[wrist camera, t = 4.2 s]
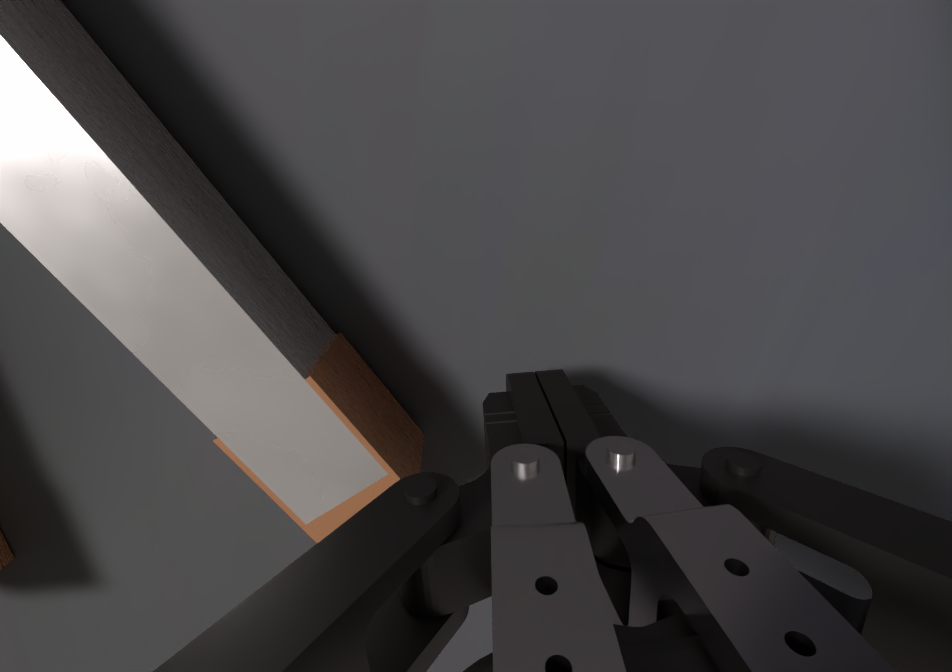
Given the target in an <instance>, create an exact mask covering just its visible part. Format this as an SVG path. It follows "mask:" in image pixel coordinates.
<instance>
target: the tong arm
mask: <svg viewBox="0 0 952 672" xmlns="http://www.w3.org/2000/svg"><path fill="white" fill-rule="evenodd" d="M0 223H1V224H2V225H3V226H4V227H5V228H6V229H7V230H8V231H9V232H10V233H11V234H12V235H14V236H15V237H16V238H17V239H18V240H19V241H20V242H21V243H22V244H23V245H24V246H25V247H26V248H27V249H28V250H29V251H30V252H31V253H32V254H33V255H34V256H35V257H36V258H37V259H38V260H39V261H40V262H41V263H42V264H43V265H44V266H45V267H46V268H47V269H48V270H49V271H50V272H51V273H52V274H53V275H54V276H55V277H56V278H57V279H58V280H59V281H60V282H61V283H62V284H63V285H64V286H65V287H66V288H67V289H68V290H69V291H70V292H71V293H72V294H73V295H74V296H75V297H76V298H77V299H78V300H79V301H80V302H81V303H82V304H83V305H84V306H85V307H86V308H87V309H88V310H89V311H90V312H91V313H92V314H93V315H94V316H95V317H96V318H97V319H98V320H99V321H101V322H102V323H103V324H104V325H105V326H106V327H107V328H108V329H109V330H110V331H111V332H112V333H113V334H114V335H115V336H116V337H117V338H118V339H119V340H120V341H121V342H122V343H123V344H124V345H125V346H126V347H127V348H128V349H129V350H130V351H131V352H132V353H133V354H134V355H135V356H136V357H137V358H138V359H139V360H140V361H141V362H142V363H143V364H144V365H145V366H146V367H147V368H148V369H149V370H150V371H151V372H152V373H153V374H154V375H155V376H156V377H157V378H158V379H159V380H160V381H161V382H162V383H163V384H164V385H165V386H166V387H167V388H168V389H169V390H170V391H171V392H172V393H173V394H174V395H175V396H176V397H177V398H178V399H179V400H180V401H181V402H182V403H183V404H184V405H185V406H186V407H187V408H189V409H190V410H191V411H192V412H193V413H194V414H195V415H196V416H197V417H198V418H199V419H200V420H201V421H202V422H203V423H204V424H205V425H206V426H207V427H208V428H209V429H210V430H211V431H212V432H213V433H214V434H215V435H216V436H217V437H216V438H215V439H214V440H213V442H214V443H216V444H217V445H218V446H219V447H220V448H221V449H222V450H223V451H224V452H225V453H226V454H227V455H228V456H229V457H230V458H231V459H232V460H233V461H234V462H235V463H236V464H237V465H238V466H239V467H240V468H241V469H242V470H243V471H244V472H245V473H246V474H247V475H248V476H249V477H250V478H251V479H252V480H253V481H254V482H255V483H256V484H257V485H258V486H259V487H260V488H261V489H262V490H263V491H264V492H265V493H266V494H267V495H269V496H270V497H271V498H272V499H273V500H274V501H275V502H276V503H277V504H278V505H279V506H280V507H281V508H282V509H283V510H284V511H285V512H286V513H287V514H288V515H289V516H290V517H291V518H292V519H293V520H294V521H295V522H296V523H297V524H298V525H299V526H300V527H301V528H302V529H303V530H304V531H305V532H306V533H307V534H308V535H309V536H310V537H311V538H312V539H313V540H314V541H315V542H316V543H319V542H320V541H321V540H322V539H324V538H325V537H326V536H328V535H329V534H330V533H331V532H333V531H334V530H335V529H337V528H338V527H339V526H340V525H342V524H343V523H344V522H346V521H347V520H348V519H349V518H351V517H352V516H353V515H354V514H356V513H357V512H358V511H360V510H361V509H362V508H363V507H365V506H366V505H367V504H369V503H370V502H371V501H372V500H374V499H375V498H376V497H378V496H379V495H380V494H381V493H383V492H384V491H385V490H387V489H388V488H389V487H390V486H392V485H393V484H394V483H396V482H397V481H399V480H400V479H402V478H404V477H407V476H409V475H413V474H416V473H421V464H422V453H423V442H424V433H423V432H422V431H421V430H420V428H419V427H418V426H417V425H416V424H415V422H414V421H413V420H412V419H411V417H410V416H409V415H408V414H407V413H406V411H405V410H404V409H403V408H402V406H401V405H400V404H399V403H398V402H397V400H396V399H395V398H394V397H393V395H392V394H391V393H390V392H389V391H388V389H387V388H386V387H385V386H384V384H383V383H382V382H381V381H380V380H379V378H378V377H377V376H376V375H375V374H374V372H373V371H372V370H371V369H370V367H369V366H368V365H367V364H366V363H365V361H364V360H363V359H362V358H361V356H360V355H359V354H358V353H357V352H356V350H355V349H354V348H353V347H352V345H351V344H350V343H349V342H348V341H347V339H346V338H345V337H344V336H343V334H342V333H341V332H339V333H338V334H335V333H334V332H333V330H332V329H331V328H330V327H329V325H328V324H327V323H326V322H325V321H324V319H323V318H322V317H321V316H320V315H319V313H318V312H317V311H316V310H315V309H314V307H313V306H312V305H311V304H310V302H309V301H308V300H307V299H306V298H305V296H304V295H303V294H302V293H301V292H300V290H299V289H298V288H297V287H296V285H295V284H294V283H293V282H292V281H291V279H290V278H289V277H288V276H287V275H286V273H285V272H284V271H283V270H282V268H281V267H280V266H279V265H278V264H277V262H276V261H275V260H274V259H273V258H272V256H271V255H270V254H269V253H268V252H267V250H266V249H265V248H264V247H263V245H262V244H261V243H260V242H259V241H258V239H257V238H256V237H255V236H254V235H253V233H252V232H251V231H250V230H249V228H248V227H247V226H246V225H245V224H244V222H243V221H242V220H241V219H240V218H239V216H238V215H237V214H236V213H235V211H234V210H233V209H232V208H231V207H230V205H229V204H228V203H227V202H226V201H225V199H224V198H223V197H222V196H221V195H220V193H219V192H218V191H217V190H216V188H215V187H214V186H213V185H212V184H211V182H210V181H209V180H208V179H207V178H206V176H205V175H204V174H203V173H202V171H201V170H200V169H199V168H198V167H197V165H196V164H195V163H194V162H193V161H192V159H191V158H190V157H189V156H188V154H187V153H186V152H185V151H184V150H183V148H182V147H181V146H180V145H179V144H178V142H177V141H176V140H175V139H174V137H173V136H172V135H171V134H170V133H169V131H168V130H167V129H166V128H165V127H164V125H163V124H162V123H161V122H160V121H159V119H158V118H157V117H156V116H155V114H154V113H153V112H152V111H151V110H150V108H149V107H148V106H147V105H146V104H145V102H144V101H143V100H142V99H141V97H140V96H139V95H138V94H137V93H136V91H135V90H134V89H133V88H132V87H131V85H130V84H129V83H128V82H127V80H126V79H125V78H124V77H123V76H122V74H121V73H120V72H119V71H118V70H117V68H116V67H115V66H114V65H113V64H112V62H111V61H110V60H109V59H108V57H107V56H106V55H105V54H104V53H103V51H102V50H101V49H100V48H99V47H98V45H97V44H96V43H95V42H94V40H93V39H92V38H91V37H90V36H89V34H88V33H87V32H86V31H85V30H84V28H83V27H82V26H81V25H80V23H79V22H78V21H77V20H76V19H75V17H74V16H73V15H72V14H71V13H70V11H69V10H68V9H67V8H66V7H65V5H64V4H63V3H62V2H61V0H0Z"/></svg>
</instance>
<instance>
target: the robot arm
mask: <svg viewBox="0 0 952 672" xmlns="http://www.w3.org/2000/svg"><path fill="white" fill-rule="evenodd" d="M483 414H484V430H485V445H486V456H487V464H488V470H487V471H486V472H485V473H484V474H483V475H482V476H481V477H479V478H478V479H476V480H474V481H472V482H470V483H467V484H464V485H461V486H457V484H456V483H455V481H454V480H453V479H451V478H450V477H448V476H446V475H443V474H440V473H434V472H423V473H416V474H413V475H409V476H407V477H404V478H402V479H400V480H399V481H397V482H396V483H394V484H393V485H392V486H390V487H389V488H388V489H387V490H385V491H384V492H383V493H381V494H380V495H379V496H378V497H376V498H375V499H374V500H372V501H371V502H370V503H369V504H367V505H366V506H365V507H363V508H362V509H361V510H360V511H358V512H357V513H356V514H354V515H353V516H352V517H351V518H349V519H348V520H347V521H346V522H344V523H343V524H342V525H340V526H339V527H338V528H337V529H335V530H334V531H333V532H331V533H330V534H329V535H328V536H326V537H325V538H324V539H322V540H321V541H320V542H319V543H317V544H316V545H315V546H313V547H312V548H311V549H310V550H308V551H307V552H306V553H304V554H303V555H302V556H301V557H299V558H298V559H297V560H295V561H294V562H293V563H292V564H290V565H289V566H288V567H287V568H285V569H284V570H283V571H281V572H280V573H279V574H278V575H276V576H275V577H274V578H272V579H271V580H270V581H269V582H267V583H266V584H265V585H263V586H262V587H261V588H260V589H258V590H257V591H256V592H254V593H253V594H252V595H251V596H249V597H248V598H247V599H245V600H244V601H243V602H242V603H240V604H239V605H238V606H237V607H235V608H234V609H233V610H231V611H230V612H229V613H228V614H226V615H225V616H224V617H222V618H221V619H220V620H219V621H217V622H216V623H215V624H213V625H212V626H211V627H210V628H208V629H207V630H206V631H204V632H203V633H202V634H201V635H199V636H198V637H197V638H195V639H194V640H193V641H192V642H190V643H189V644H188V645H186V646H185V647H184V648H183V649H181V650H180V651H179V652H178V653H176V654H175V655H174V656H172V657H171V658H170V659H169V660H167V661H166V662H165V663H163V664H162V665H161V666H160V667H158V668H157V669H156V670H154V671H153V672H426V671H427V670H428V668H429V667H430V666H431V664H432V663H433V662H434V661H435V659H436V658H437V657H438V655H439V654H440V653H441V651H442V650H443V649H444V647H445V646H446V645H447V643H448V642H449V641H450V639H451V638H452V637H453V636H454V634H455V633H456V632H457V630H458V629H459V628H460V626H461V625H462V624H463V622H464V621H465V619H466V617H467V614H468V611H469V605H471V604H474V603H476V602H478V601H481V600H483V599H486V598H488V597H490V596H492V636H493V652H492V653H490V654H489V655H487V656H485V657H483V658H481V659H479V660H478V661H477V662H475V663H474V664H472V665H471V666H470V667H468V668H467V669H466V670H464V671H463V672H952V522H950V521H947V520H944V519H941V518H939V517H936V516H933V515H930V514H928V513H925V512H922V511H919V510H916V509H914V508H911V507H908V506H905V505H902V504H900V503H897V502H894V501H891V500H888V499H886V498H883V497H880V496H877V495H874V494H872V493H869V492H866V491H863V490H861V489H858V488H855V487H852V486H849V485H847V484H844V483H841V482H838V481H835V480H833V479H830V478H827V477H824V476H821V475H819V474H816V473H813V472H810V471H807V470H805V469H802V468H799V467H796V466H794V465H791V464H788V463H785V462H782V461H780V460H777V459H774V458H771V457H768V456H766V455H763V454H760V453H757V452H754V451H751V450H747V449H742V448H735V447H721V448H716V449H712V450H710V451H708V452H707V453H705V455H704V456H703V458H702V466H701V468H695V467H686V466H677V465H670V464H665V463H664V462H663V460H662V459H661V458H660V457H659V456H658V455H657V454H656V453H655V451H654V450H653V449H652V448H651V447H649V446H648V445H647V444H645V443H643V442H641V441H639V440H636V439H633V438H629V437H626V435H625V434H624V432H623V431H622V429H621V428H620V426H619V425H618V424H617V422H616V421H615V419H614V418H613V416H612V415H611V414H610V412H609V410H608V409H607V407H606V406H604V403H603V401H602V400H601V398H600V397H599V395H598V394H597V393H596V392H594V391H592V390H591V389H589V388H587V387H585V386H584V385H581V386H572V385H571V384H570V382H569V380H568V378H567V377H566V375H565V373H564V371H563V370H562V369H561V370H548V371H536V372H535V373H534V372H524V373H512V374H506V392H497V393H489V394H488V396H487V397H486V399H485V400H484V402H483ZM776 533H779V534H781V535H784V536H786V537H788V538H790V539H792V540H794V541H797V542H799V543H801V544H803V545H805V546H808V547H810V548H812V549H814V550H816V551H818V552H821V553H823V554H825V555H827V556H829V557H832V558H834V559H836V560H838V561H840V562H842V563H845V564H847V565H849V566H851V567H853V568H854V569H856V570H857V571H858V572H860V573H861V574H862V575H863V576H864V577H865V578H866V580H867V581H868V582H869V584H870V586H871V588H872V593H873V594H872V599H868V600H861V599H856V598H853V597H851V596H848V595H846V594H844V593H842V592H840V591H838V590H836V589H834V588H832V587H830V586H828V585H826V584H824V583H822V582H820V581H818V580H816V579H814V578H812V577H810V576H808V575H806V574H804V573H802V572H800V571H798V570H797V569H796V568H795V567H794V566H793V565H792V564H791V563H790V562H789V561H788V560H787V559H786V558H785V557H784V556H783V555H782V554H781V553H780V552H779V551H778V550H777V549H776V548H775V547H774V543H775V538H776Z"/></svg>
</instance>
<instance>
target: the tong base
mask: <svg viewBox="0 0 952 672" xmlns="http://www.w3.org/2000/svg"><path fill="white" fill-rule="evenodd" d="M13 558H14V556H13V554H12V552H11V550H10V548H9V546H8V544H7V542H6V540H5V538H4V536H3V534H2V532H1V530H0V570H1V569H2V568H3V567H4V566H6V565H7V564H8V563H9V562H10V561H11V560H12V559H13Z"/></svg>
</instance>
